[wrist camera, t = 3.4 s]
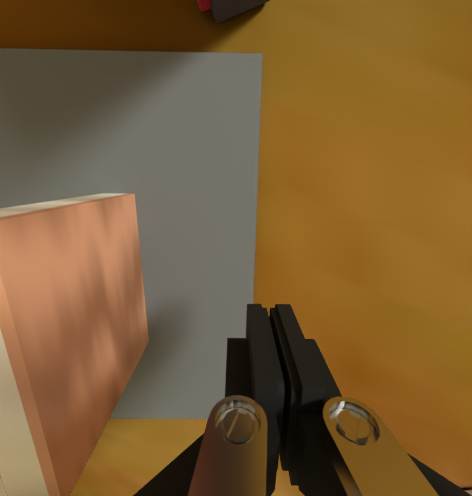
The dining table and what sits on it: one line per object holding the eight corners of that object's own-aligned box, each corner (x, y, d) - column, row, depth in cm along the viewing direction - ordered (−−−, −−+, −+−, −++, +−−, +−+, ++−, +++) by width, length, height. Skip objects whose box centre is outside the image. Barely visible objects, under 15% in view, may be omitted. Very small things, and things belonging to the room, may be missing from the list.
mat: (248, 409, 20) (248, 419, 19) (10, 408, 20) (1, 417, 19) (261, 60, 13) (262, 53, 13) (-100, 53, 13) (-121, 45, 12)
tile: (148, 341, 17) (63, 507, 9) (122, 341, 17) (11, 507, 9) (134, 193, 14) (-14, 223, 6) (103, 193, 14) (-92, 222, 6)
